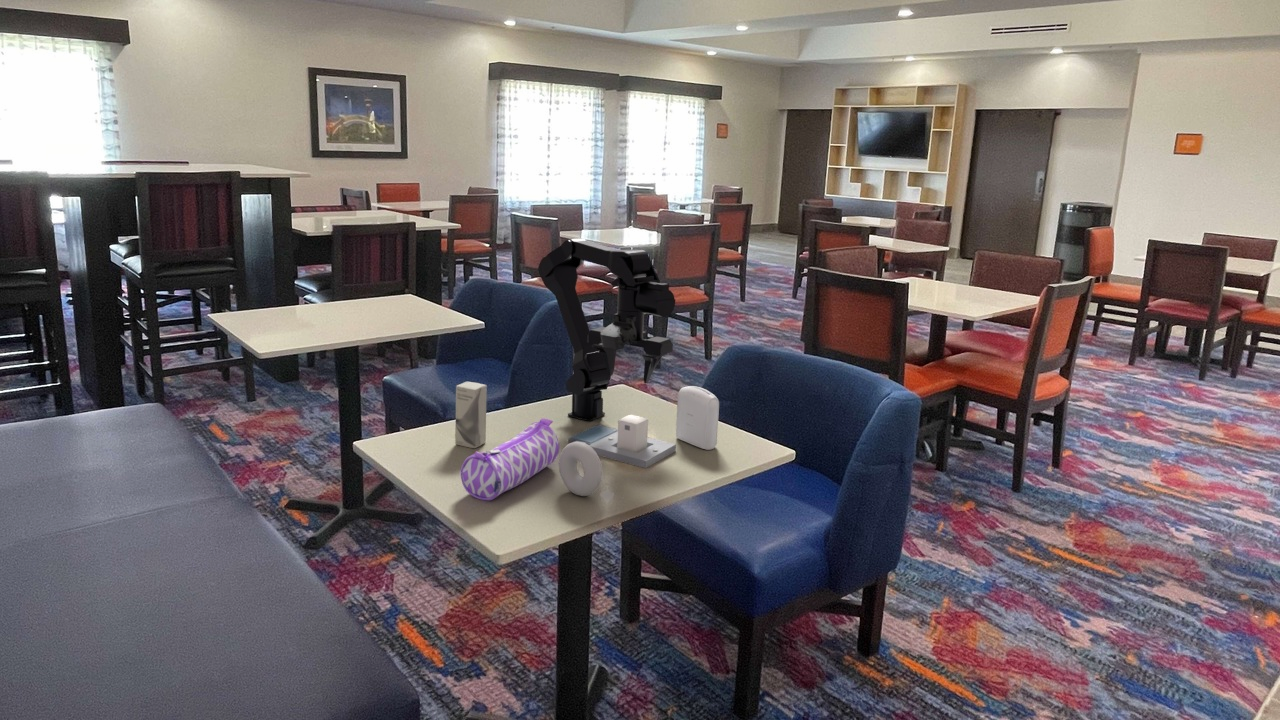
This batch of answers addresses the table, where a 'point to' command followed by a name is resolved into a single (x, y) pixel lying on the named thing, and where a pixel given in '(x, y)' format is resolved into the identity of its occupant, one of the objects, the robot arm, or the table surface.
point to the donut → (590, 467)
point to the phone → (592, 434)
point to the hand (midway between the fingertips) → (628, 379)
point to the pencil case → (510, 461)
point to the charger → (632, 433)
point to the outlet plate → (642, 459)
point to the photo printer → (697, 417)
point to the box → (470, 414)
